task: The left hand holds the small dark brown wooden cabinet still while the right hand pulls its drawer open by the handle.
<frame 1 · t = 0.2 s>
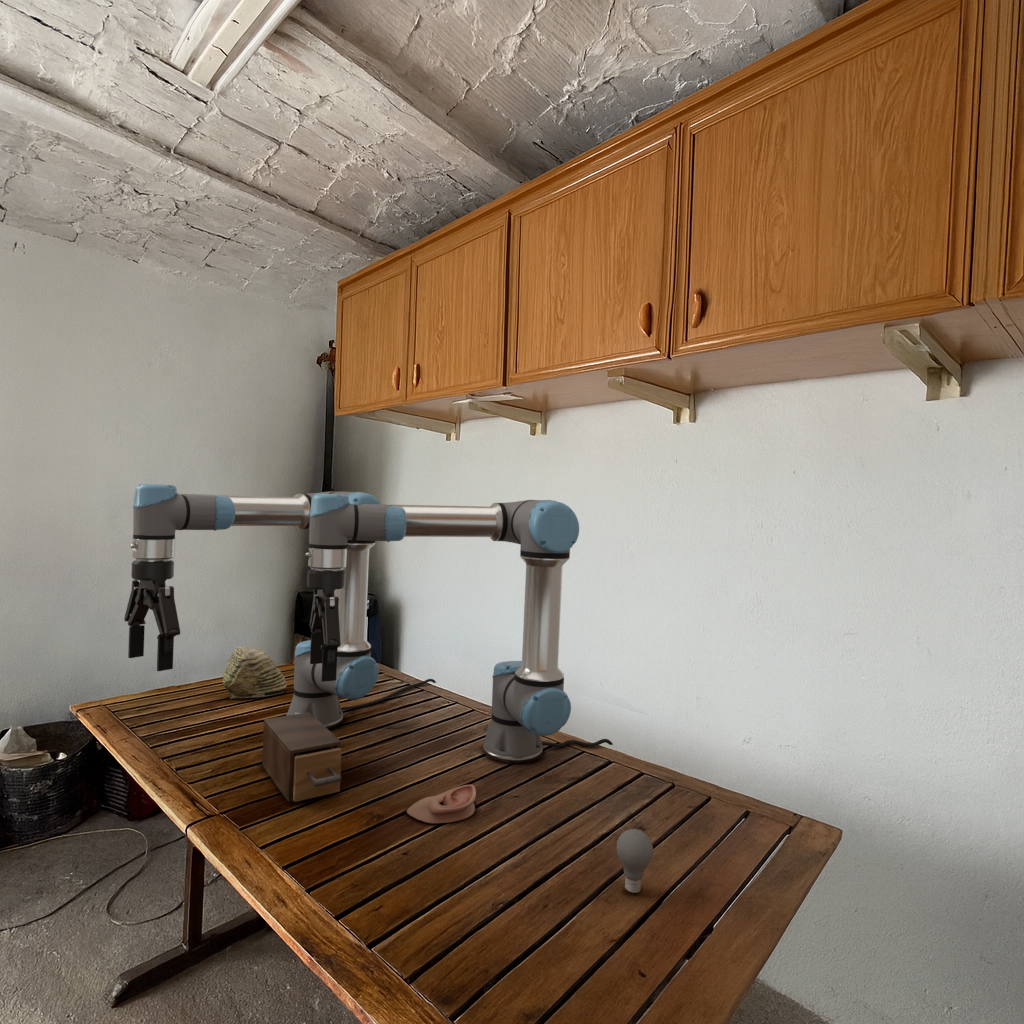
left hand: (149, 663, 129), 28 cm above the table, tool pointing down, fingers open, 13 cm apart
right hand: (322, 671, 130), 27 cm above the table, tool pointing down, fingers open, 13 cm apart
fossil: (254, 694, 198), on the table
light bulb: (632, 891, 106), on the table
anatomical model: (441, 811, 130), on the table
drawer: (307, 762, 138), point 5 cm above the table, slide at 1.0 cm
cabinet: (298, 777, 142), on the table
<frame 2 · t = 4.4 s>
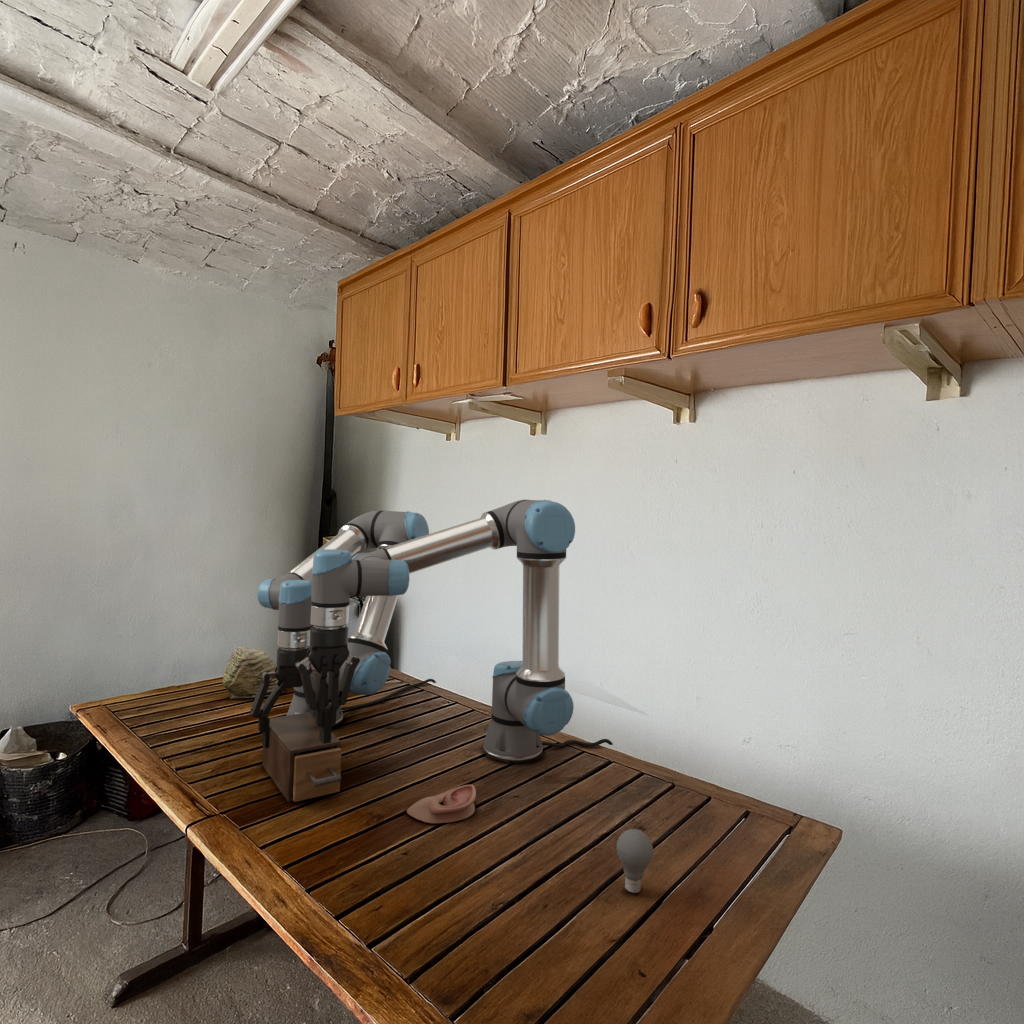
left hand: (290, 740, 148), 6 cm above the table, tool pointing down, fingers closed on cabinet, 11 cm apart
right hand: (325, 740, 129), 14 cm above the table, tool pointing down, fingers closed
cabinet: (298, 777, 142), on the table, touching left hand
everything else where it was.
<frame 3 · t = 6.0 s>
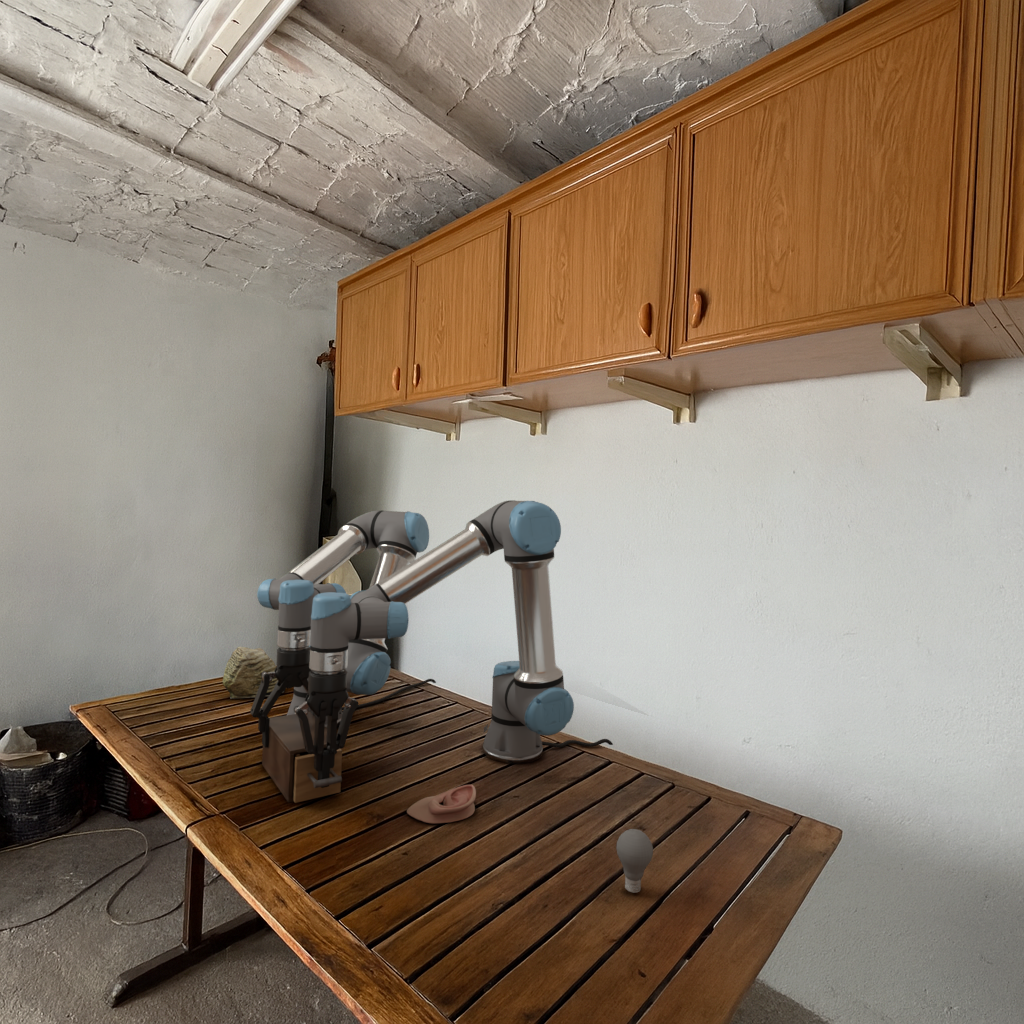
left hand: (290, 740, 148), 6 cm above the table, tool pointing down, fingers closed on cabinet, 11 cm apart
right hand: (323, 784, 129), 5 cm above the table, tool pointing down, fingers closed
drawer: (308, 763, 137), point 5 cm above the table, slide at 1.4 cm, touching right hand
cabinet: (298, 777, 142), on the table, touching left hand
everything else where it was.
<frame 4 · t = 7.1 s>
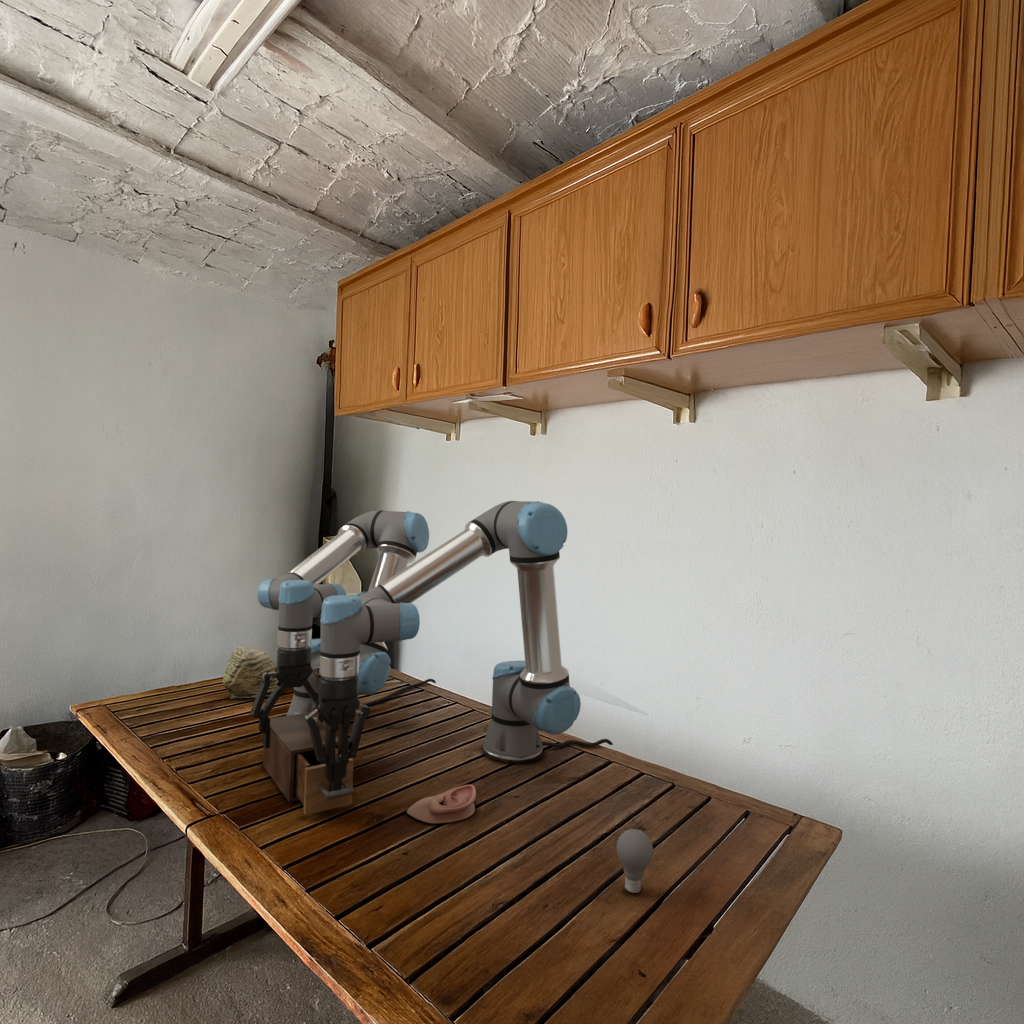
left hand: (291, 741, 148), 6 cm above the table, tool pointing down, fingers closed on cabinet, 11 cm apart
right hand: (335, 794, 124), 5 cm above the table, tool pointing down, fingers closed
drawer: (318, 773, 132), point 5 cm above the table, slide at 7.4 cm
cabinet: (299, 777, 142), on the table, touching left hand
everything else where it was.
when the left hand's fingers open (6 cm above the table, at t = 8.7 s): cabinet stays where it is, on the table.
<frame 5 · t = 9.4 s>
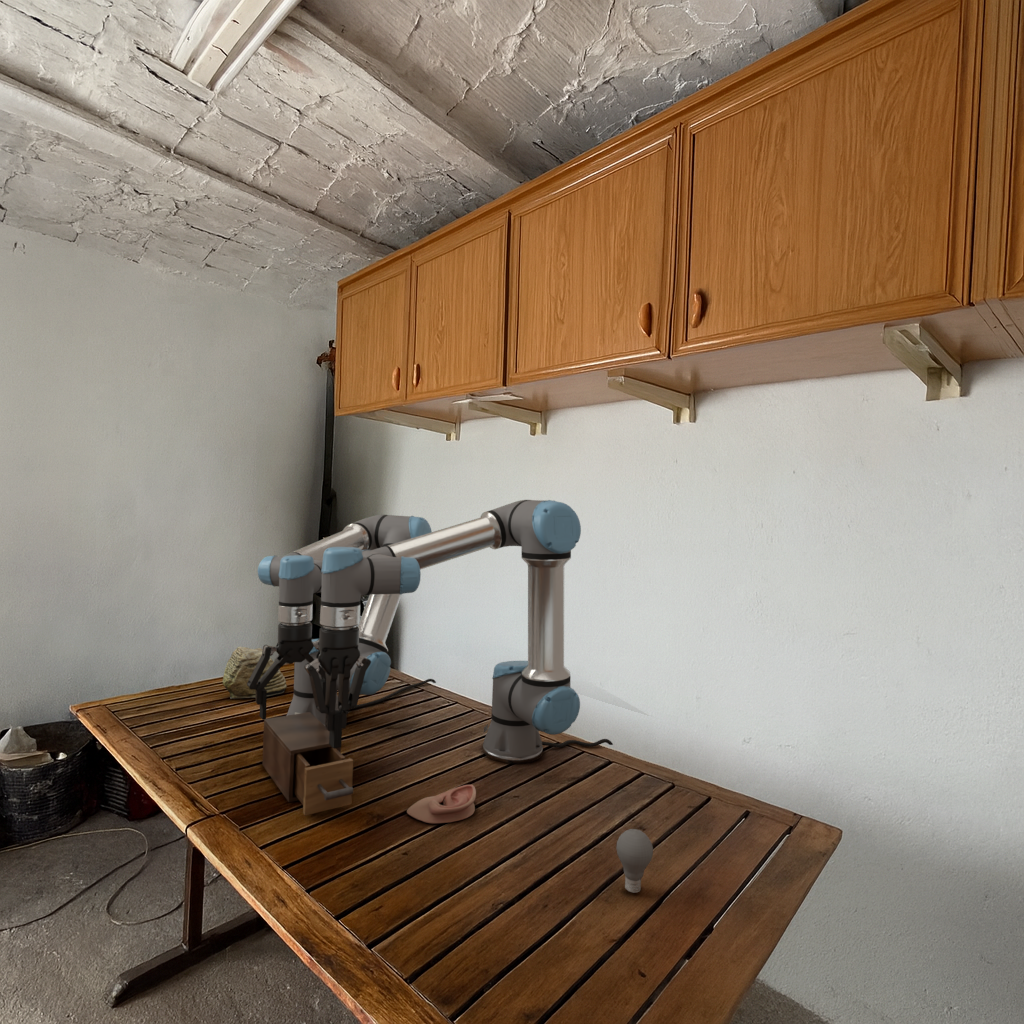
left hand: (293, 712, 148), 13 cm above the table, tool pointing down, fingers open, 13 cm apart
right hand: (335, 745, 125), 15 cm above the table, tool pointing down, fingers closed
cabinet: (299, 777, 142), on the table
everything else where it was.
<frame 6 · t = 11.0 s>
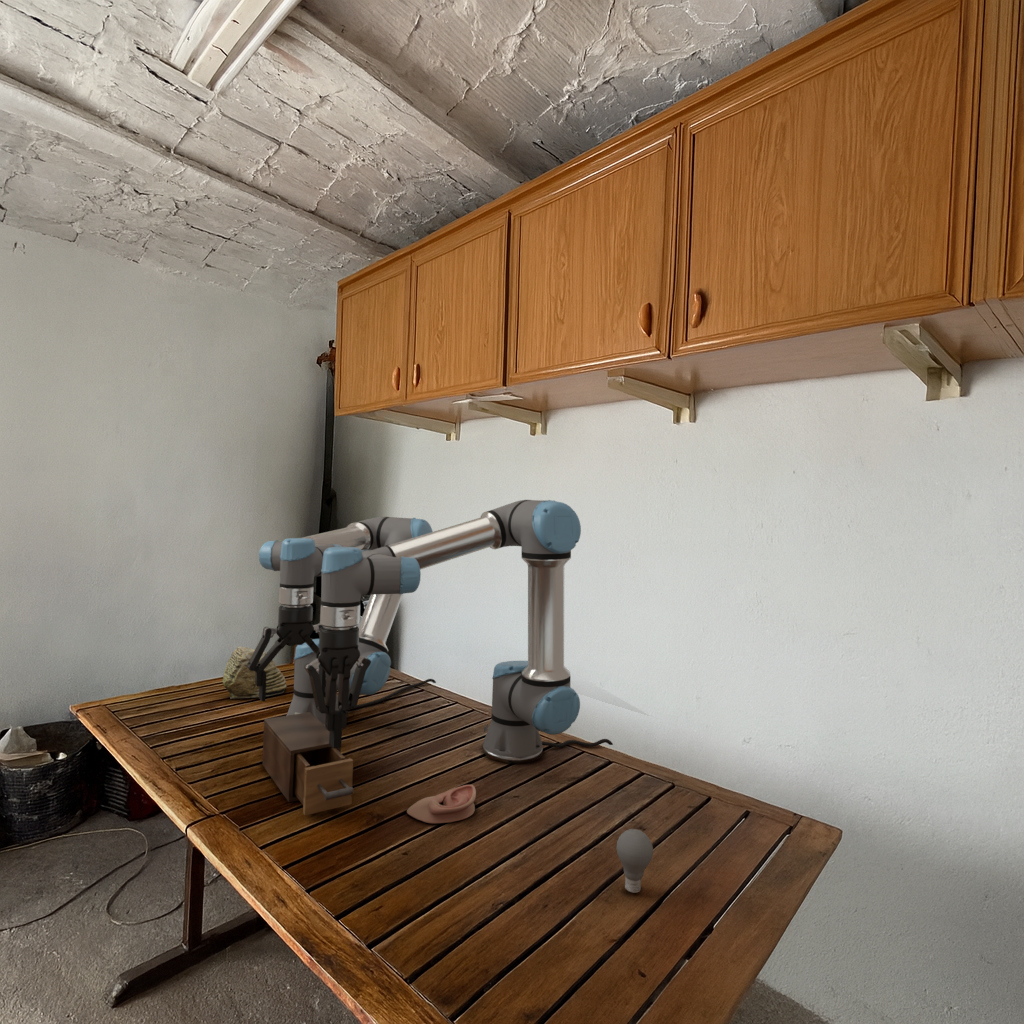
left hand: (292, 695, 148), 17 cm above the table, tool pointing down, fingers open, 13 cm apart
right hand: (335, 745, 125), 15 cm above the table, tool pointing down, fingers closed
nothing on the table moved.
at the end: drawer slide at 7.4 cm; cabinet tilted 0°; cabinet never tilted more than 1° during the clip; cabinet moved 0.1 cm from its start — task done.
